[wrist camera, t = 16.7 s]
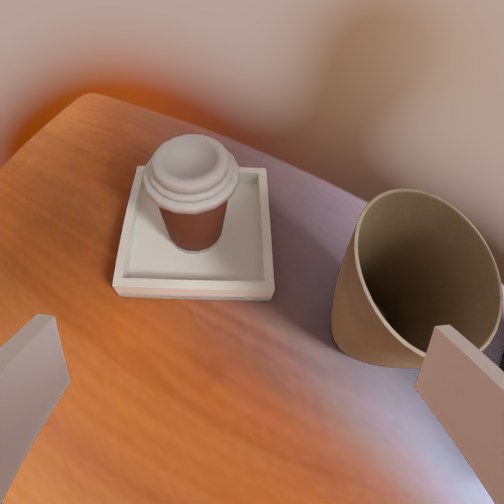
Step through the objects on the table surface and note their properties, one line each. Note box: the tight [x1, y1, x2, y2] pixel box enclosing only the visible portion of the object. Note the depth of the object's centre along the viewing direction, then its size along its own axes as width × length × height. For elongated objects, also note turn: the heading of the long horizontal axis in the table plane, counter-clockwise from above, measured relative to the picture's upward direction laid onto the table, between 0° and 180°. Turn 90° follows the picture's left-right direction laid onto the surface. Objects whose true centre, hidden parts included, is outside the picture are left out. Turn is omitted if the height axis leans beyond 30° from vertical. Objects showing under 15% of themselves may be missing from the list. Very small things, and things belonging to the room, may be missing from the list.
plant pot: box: [331, 189, 503, 368], centre depth 28 cm, size 15×15×16 cm
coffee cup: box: [143, 134, 239, 254], centre depth 32 cm, size 9×9×12 cm
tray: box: [112, 166, 275, 301], centre depth 37 cm, size 17×17×3 cm
